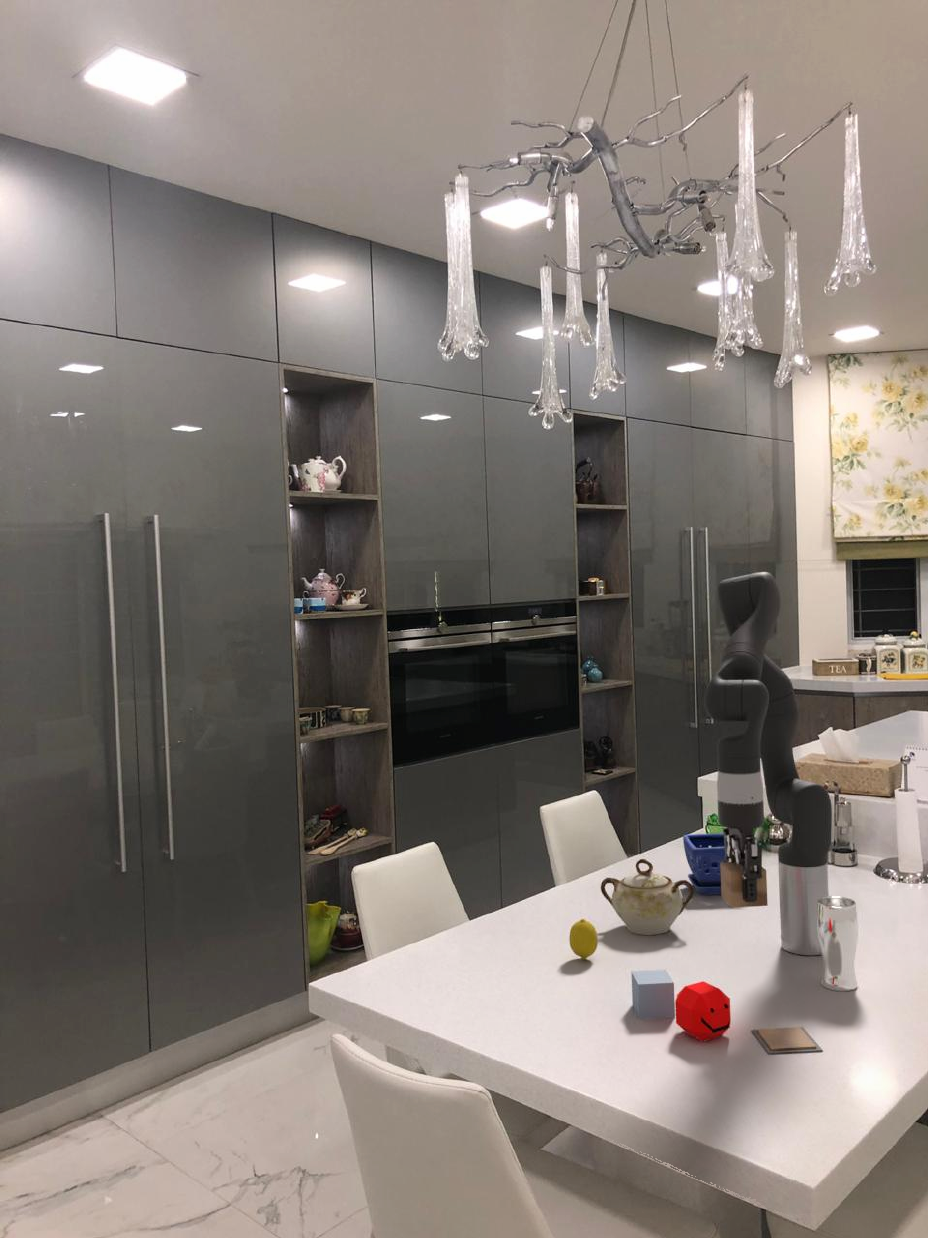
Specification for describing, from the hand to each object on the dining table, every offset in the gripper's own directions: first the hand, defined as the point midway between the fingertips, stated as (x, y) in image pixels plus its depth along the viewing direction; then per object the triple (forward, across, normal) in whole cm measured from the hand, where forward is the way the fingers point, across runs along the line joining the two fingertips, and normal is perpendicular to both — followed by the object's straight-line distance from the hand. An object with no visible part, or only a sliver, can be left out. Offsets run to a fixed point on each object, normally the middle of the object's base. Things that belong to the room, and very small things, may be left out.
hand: (744, 895), depth 172 cm
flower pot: (+20, +69, -14) cm, 73 cm away
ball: (+20, -9, +10) cm, 24 cm away
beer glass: (+20, +8, -19) cm, 29 cm away
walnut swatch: (+19, -13, -2) cm, 23 cm away
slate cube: (+20, +1, +16) cm, 25 cm away
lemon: (+20, +27, +24) cm, 41 cm away
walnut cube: (+1, 0, 0) cm, 1 cm away
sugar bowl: (+20, +43, +8) cm, 48 cm away
